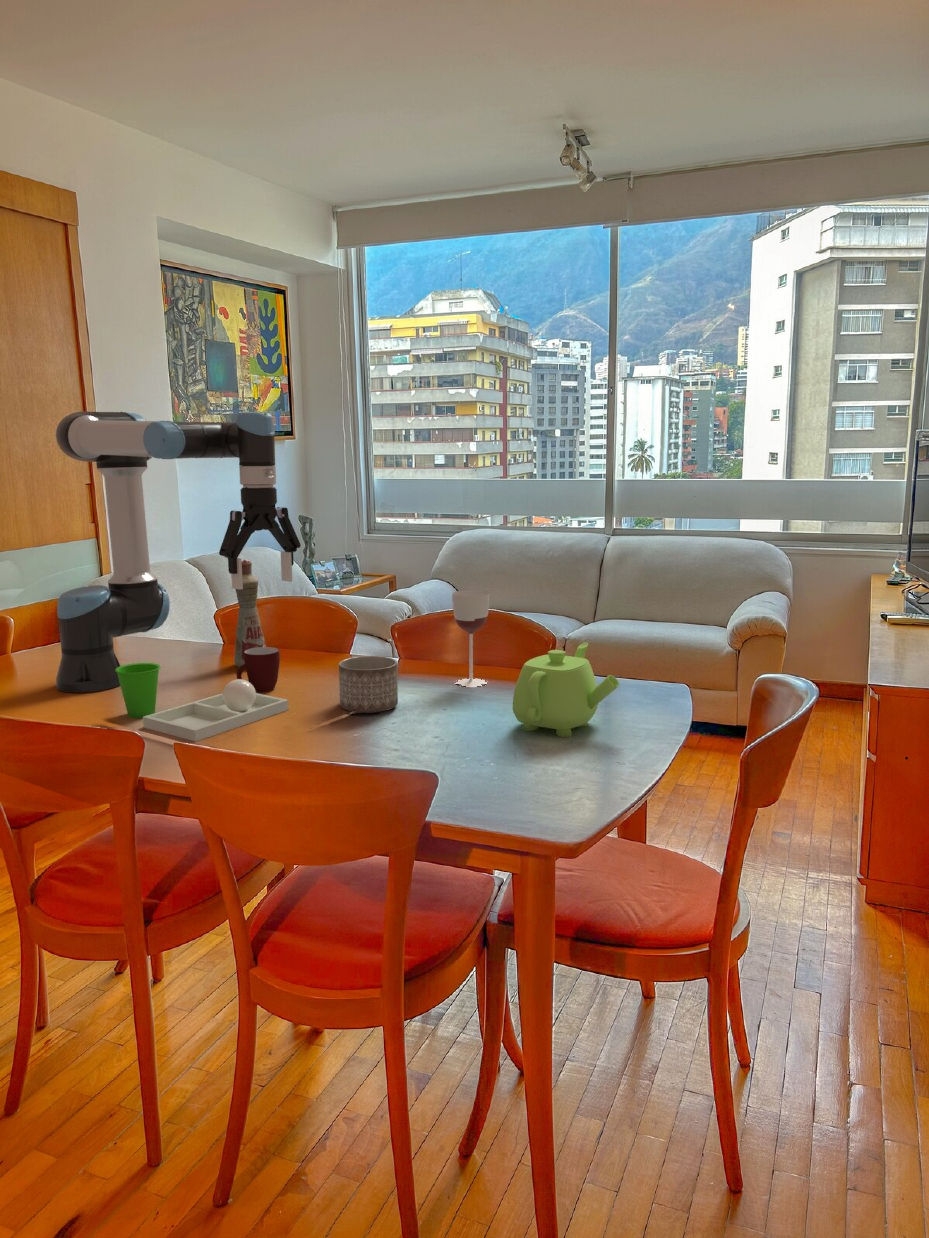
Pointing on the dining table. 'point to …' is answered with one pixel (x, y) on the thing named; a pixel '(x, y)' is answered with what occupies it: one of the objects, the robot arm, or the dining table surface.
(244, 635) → the bottle
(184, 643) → the dining table surface
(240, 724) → the tray
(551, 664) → the teapot
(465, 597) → the wineglass
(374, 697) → the planter
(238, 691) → the white ball
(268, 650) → the mug
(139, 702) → the cup
